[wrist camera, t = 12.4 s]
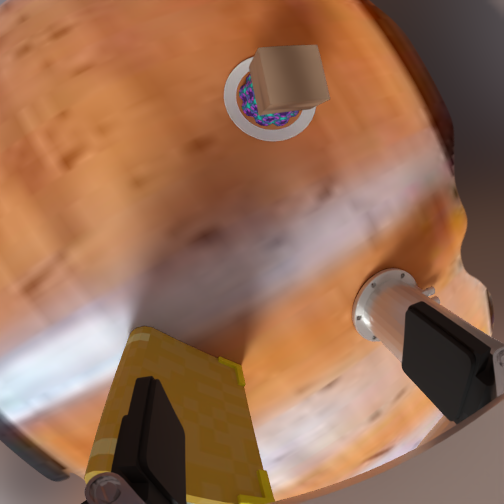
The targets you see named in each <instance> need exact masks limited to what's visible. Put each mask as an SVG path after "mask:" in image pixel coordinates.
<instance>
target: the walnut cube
mask: <svg viewBox="0 0 504 504" xmlns="http://www.w3.org/2000/svg"><path fill="white" fill-rule="evenodd" d="M249 70H250V75H251V80H252V84H253V89H254V94H255V99H256V104H257V109H258V114H259V116H260V115H267V114H274V113H282V112H290V111H299V110H309V109H312V108H314V107H316V106H318V105H319V104H321V103H323V102H325V101H328V100H330V96H329V91H328V87H327V82H326V78H325V74H324V70H323V66H322V61H321V57H320V54H319V50H318V46H317V45H293V46H275V47H262V48H258V49H257V51H256V53H255V55H254V57H253V59H252V61H251V63H250V66H249Z"/></svg>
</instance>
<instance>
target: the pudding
mask: <svg viewBox="0 0 504 504" xmlns="http://www.w3.org/2000/svg"><path fill="white" fill-rule="evenodd" d="M252 59H253V57H251V58H249V59H246V60H245V61H243V62H241V63H240V64H239V65H238V66H237V67H235V68H234V70H233V71H232V72H231V73H230V75H229V77H228V79H227V81H226V84H225V88H224V102H225V106H226V109H227V112H228V114H229V116H230V118H231V119H232V121H233V122H234V123H235V124H236V126H238V127H239V128H240V129H241V130H242V131H243V132H245V133H247V134H248V135H250V136H252V137H254V138H257V139H260V140H264V141H282V140H286V139H290V138H292V137H294V136H296V135H298V134H299V133H300V132H302V131H303V130H304V129H305V128H306V127H307V126H308V125H309V123H310V122H311V120H312V118H313V116H314V113H315V109H316V107H314V108H312V109H309V110H303V111H302V113H301V115H300V117H299V118H298V119H297V120H296V121H295V122H294V123H293V124H291V125H290V126H288V127H286V128H283V129H279V130H266V129H262V128H259V127H257V126H255V125H253V124H252V123H250V122H249V121H248V120H247V119H246V118H245V117H244V116H243V115H242V113H241V112H240V110H239V108H238V105H237V101H236V91H237V87H238V84H239V82H240V80H241V79H242V78H243V76H244V75H245V74H246V73H248V72H249V71H250V70H249V66H250V63H251V61H252ZM239 97H240V98H241V99H242V100H243V104H242V109H243V111H244V113H245V114H246V115H247V116H251V117H254V119H255V121H256V123H258V124H260V125H262V126H268V125H270V124H274V125H276V126H283V125H285V124H286V123H288V120H289V118H290V117H294V116H296V115H297V114H298V113H299V111H290V112H282V113H274V114H267V115H260V116H259V114H258V109H257V104H256V99H255V94H254V89H253V84H252V80H251V75H250V74H249V76H248V77H247V78H246V84H245V85H243V86H241V88H240V91H239Z"/></svg>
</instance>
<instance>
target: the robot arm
mask: <svg viewBox="0 0 504 504" xmlns="http://www.w3.org/2000/svg"><path fill="white" fill-rule="evenodd" d="M434 293H435V289H434V287H433V286H431V287H428V288H426V289H424V290H423V289H421V288H419V287H418V286H417V284H416V281H415V280H414V278H413V277H412V276H411V275H410V274H409V273H407V272H406V271H404V270H401V269H397V268H390V269H385V270H382V271H380V272H378V273H376V274H375V275H374V276H372V277H371V278H370V279H369V280H368V281H367V282H366V283H365V284H364V285H363V287H362V288H361V289H360V291H359V293H358V295H357V297H356V299H355V302H354V305H353V310H352V319H353V324H354V326H355V329H356V330H357V331H358V333H359V334H360V335H361V336H362V337H363V338H365V339H367V340H369V341H381V342H382V343H383V344H384V345H385V346H386V347H387V348H388V349H389V350H390V351H391V352H392V353H393V354H394V356H395V357H396V358H397V359H398V360H399V361H400V362H401V363H402V369H403V371H404V372H405V373H406V375H407V376H408V377H409V378H410V379H411V380H412V381H413V382H414V383H415V384H416V385H417V386H418V387H419V388H420V390H421V391H422V392H423V393H424V394H425V395H426V396H427V397H428V398H429V399H430V400H431V401H432V402H433V404H434V405H435V406H436V407H437V408H438V409H439V410H440V411H441V412H442V413H443V414H444V416H443V417H442V418H441V419H440V420H439V422H438V423H437V424H436V425H435V426H434V428H433V429H432V430H431V431H430V432H429V433H428V435H427V436H426V437H425V438H424V439H423V440H422V442H421V443H420V444H419V445H418V447H417V448H416V449H414V450H412V451H410V452H408V453H406V454H404V455H402V456H400V457H398V458H396V459H394V460H392V461H390V462H388V463H385V464H383V465H381V466H379V467H376V468H374V469H372V470H369V471H367V472H365V473H362V474H360V475H357V476H355V477H352V478H350V479H347V480H344V481H342V482H339V483H336V484H333V485H330V486H327V487H324V488H321V489H318V490H315V491H312V492H309V493H305V494H302V495H298V496H295V497H291V498H287V499H283V500H279V501H275V502H271V503H267V504H504V343H501V342H500V341H498V340H496V339H494V338H492V337H490V336H488V335H487V334H485V333H484V332H482V331H480V330H479V329H477V328H475V327H474V326H472V325H471V324H469V323H468V322H466V321H465V320H463V319H462V318H460V317H459V316H457V315H456V314H454V313H453V312H451V311H450V310H448V309H446V308H445V307H443V306H442V305H440V300H439V298H438V297H437V296H434V297H432V298H429V297H428V296H430V295H433V294H434ZM85 497H86V501H84V502H83V503H81V504H187V502H186V465H185V432H184V429H183V426H182V425H181V423H180V421H179V419H178V417H177V415H176V413H175V411H174V409H173V407H172V405H171V403H170V401H169V399H168V397H167V395H166V393H165V390H164V388H163V386H162V384H161V382H160V380H159V379H154V377H153V376H147V377H141V378H137V379H136V381H135V385H134V389H133V394H132V398H131V402H130V406H129V411H128V415H124V416H123V418H122V421H121V425H120V430H119V434H118V439H117V443H116V448H115V453H114V458H113V463H112V468H111V472H104V473H100V474H97V475H95V476H94V477H92V478H91V479H90V480H89V481H88V483H87V484H86V487H85Z"/></svg>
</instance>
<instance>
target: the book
mask: <svg viewBox="0 0 504 504" xmlns="http://www.w3.org/2000/svg"><path fill="white" fill-rule="evenodd" d="M147 376H153V377H154V379H159V380H160V382H161V384H162V386H163V388H164V390H165V393H166V395H167V397H168V399H169V401H170V403H171V405H172V407H173V409H174V411H175V413H176V415H177V417H178V419H179V421H180V423H181V425H182V426H183V429H184V432H185V465H186V502H187V504H267V503H271V502H275V499H274V497H273V493H272V489H271V486H270V482H269V478H268V474H267V471H265V470H263V466H262V462H261V458H260V454H259V450H258V446H257V441H256V437H255V433H254V429H253V425H252V420H251V416H250V412H249V407H248V403H247V398H246V394H245V389H244V386H245V385H246V384H245V380H244V376H243V371H242V366H241V365H239V364H237V363H234V362H232V361H230V360H227V359H225V358H223V357H220V356H219V357H218V358H216V357H214V356H211V355H209V354H207V353H205V352H202V351H200V350H198V349H196V348H194V347H192V346H189V345H187V344H185V343H183V342H181V341H179V340H177V339H175V338H173V337H171V336H168V335H166V334H164V333H162V332H160V331H158V330H156V329H154V328H152V327H147V326H143V327H138V328H136V329H135V330H133V331H132V332H131V334H130V336H129V338H128V341H127V343H126V346H125V349H124V351H123V354H122V357H121V360H120V362H119V365H118V368H117V371H116V374H115V377H114V379H113V382H112V385H111V388H110V391H109V394H108V397H107V400H106V404H105V407H104V410H103V413H102V416H101V420H100V423H99V426H98V429H97V433H96V436H95V440H94V443H93V447H92V450H91V454H90V458H89V461H88V465H87V469H86V473H85V477H84V479H85V482H86V484H87V483H88V481H89V480H90V479H91V478H92V477H94V476H95V475H97V474H100V473H104V472H111V468H112V463H113V458H114V453H115V448H116V443H117V439H118V434H119V430H120V425H121V421H122V418H123V416H124V415H128V411H129V406H130V402H131V398H132V394H133V389H134V385H135V381H136V379H137V378H141V377H147Z"/></svg>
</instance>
